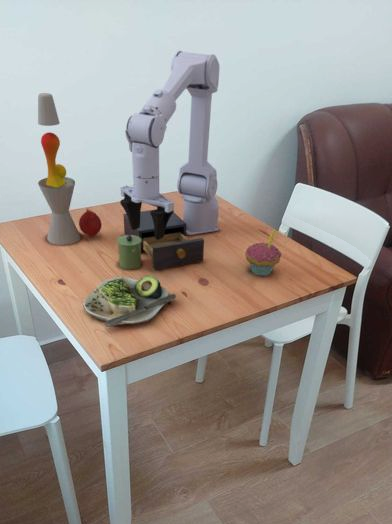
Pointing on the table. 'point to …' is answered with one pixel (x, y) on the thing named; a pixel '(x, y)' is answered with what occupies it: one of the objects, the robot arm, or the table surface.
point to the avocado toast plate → (127, 300)
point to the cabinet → (147, 226)
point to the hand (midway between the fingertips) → (147, 233)
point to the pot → (129, 251)
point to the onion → (90, 223)
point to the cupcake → (263, 257)
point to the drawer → (173, 250)
